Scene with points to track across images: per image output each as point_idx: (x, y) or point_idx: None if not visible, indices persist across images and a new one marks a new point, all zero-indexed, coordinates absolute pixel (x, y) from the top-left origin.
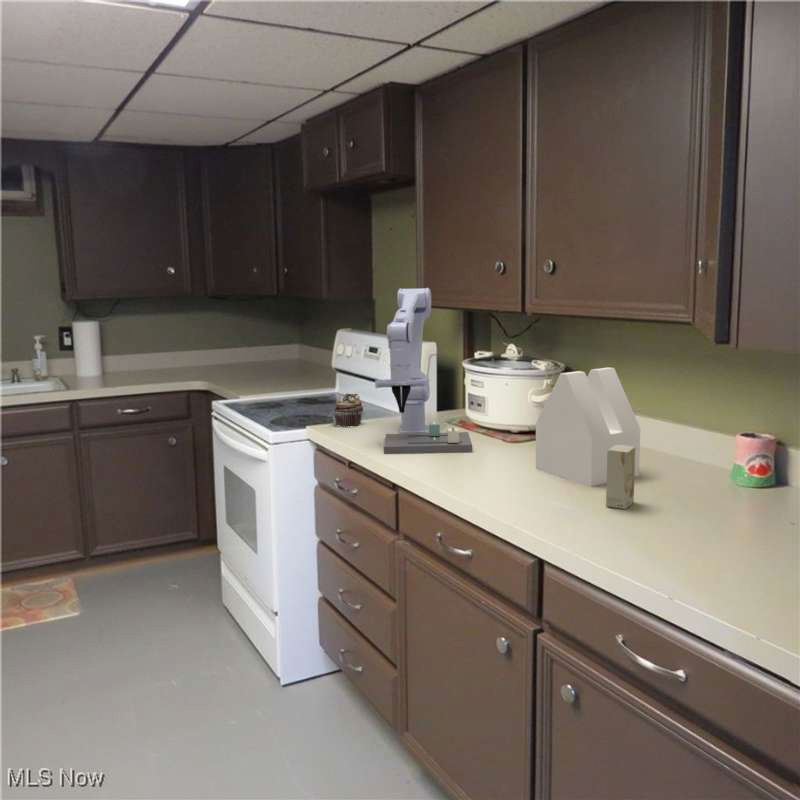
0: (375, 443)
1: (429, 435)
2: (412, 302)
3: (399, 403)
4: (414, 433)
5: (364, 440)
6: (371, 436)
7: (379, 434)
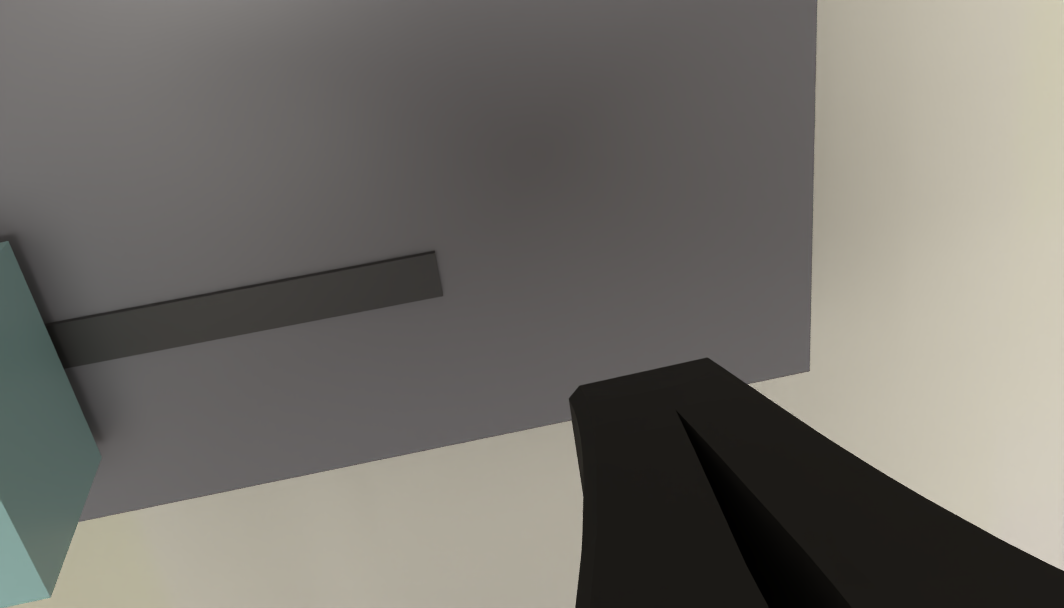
0: (913, 147)
1: (1, 243)
2: None
3: (850, 519)
4: (368, 447)
5: (1049, 297)
6: (951, 494)
7: None
